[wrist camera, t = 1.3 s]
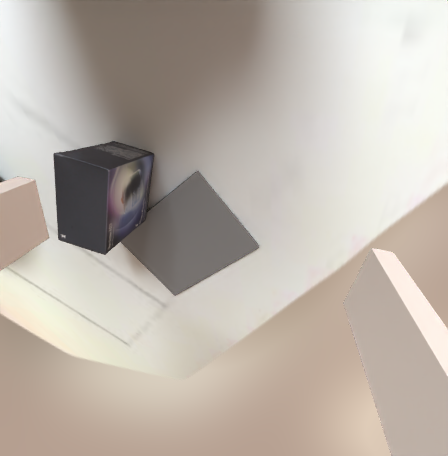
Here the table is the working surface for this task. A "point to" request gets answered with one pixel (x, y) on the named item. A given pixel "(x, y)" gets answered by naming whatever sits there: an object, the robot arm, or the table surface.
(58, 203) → the small box
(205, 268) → the mat
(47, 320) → the table surface
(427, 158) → the table surface
